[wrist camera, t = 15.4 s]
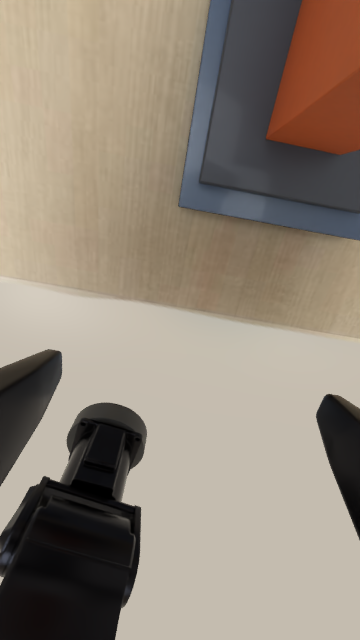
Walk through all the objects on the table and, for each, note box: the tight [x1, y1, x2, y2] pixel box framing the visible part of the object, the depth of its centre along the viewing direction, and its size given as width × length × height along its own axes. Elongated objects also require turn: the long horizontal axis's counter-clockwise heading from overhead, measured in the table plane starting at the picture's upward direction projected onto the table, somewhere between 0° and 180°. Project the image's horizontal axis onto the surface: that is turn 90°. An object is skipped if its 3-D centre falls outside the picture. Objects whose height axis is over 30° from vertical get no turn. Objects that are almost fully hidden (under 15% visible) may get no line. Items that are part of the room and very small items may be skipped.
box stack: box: [178, 0, 360, 241], centre depth 14 cm, size 15×12×4 cm
